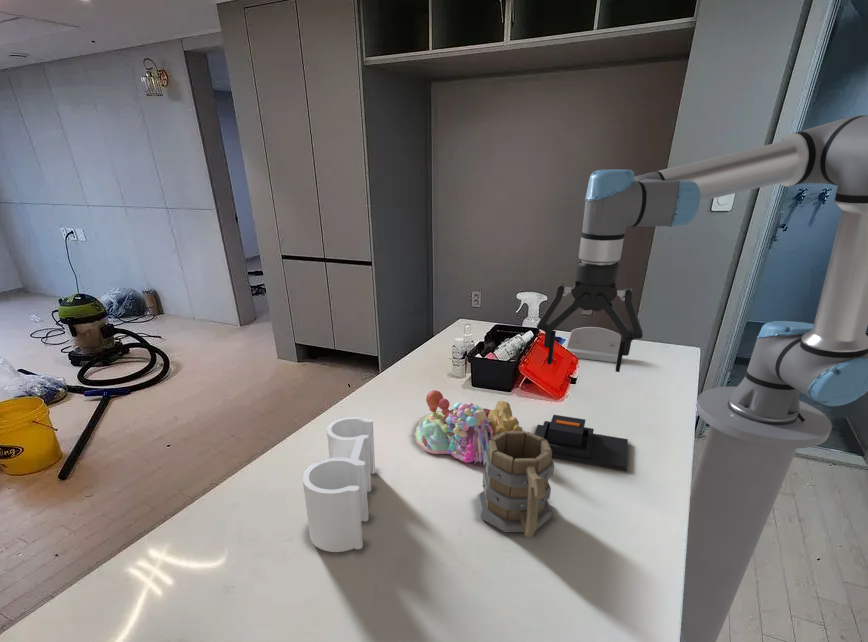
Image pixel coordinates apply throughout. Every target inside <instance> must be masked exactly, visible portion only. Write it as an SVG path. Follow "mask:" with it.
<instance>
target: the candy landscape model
mask: <svg viewBox="0 0 868 642" xmlns="http://www.w3.org/2000/svg"><path fill="white" fill-rule="evenodd" d="M425 401H426V404H427V406H428V407H429V411H430V412H431V413H429V414H427V415H425V416H424V417H422V419H420V420H419V423H418V425H416V427H415V431H414V437H415V443H416V445H418V446H419V447H420V448H421V449H422V450H423V451H424V452H426V453H429V454H433V455H440V454H441V455H445V454H447V455H450V456H452V457H453V458H454V459H457V460H459V461H461V462H464V463H466V464H467V463H472V462H474V464H476V463H478V462H479V464H481V463H483V464H482V465H483V466H485V465H484V455H485V451H486V450H488V448H489V441H490V439H492V438H493V437H495V436H497V435H498V434H500V433H502V432H505V431H523V427H521V426H519V425H520V422H519V420H518V419H517V417H515V416H514V415H513V412H512V408H511V405H510V403H509V402H508V401H505V400H498V401H497V403H496V405H495V408H493V409H488V408H482V407H481V406H479V405H478V404H474V403H472V402H469V403H462V402H456V403H455V404H454V405H453V406H452V409H449V408H450V401H449V400H448V399H447V398H444V395H443V393H442V392H440V391H439V390H435V389H433V390H430V391H429V392H428V393H427V394H426V397H425ZM438 408H439V409H440V410H441V411H440V410H439V411H437V410H438Z"/></svg>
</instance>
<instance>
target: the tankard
mask: <svg viewBox="0 0 868 642" xmlns="http://www.w3.org/2000/svg"><path fill="white" fill-rule="evenodd" d="M552 458H553V457H552V450H551V448H550V446H549V443H548V441H547V440H546V439H545V438H542V437H540V436H537V435H535V433H534V432H533V433H532V432H530V431H526V430H522V431H505V432H502V433H500V434H498V435H497V436H495V437H493V438H492V439H490V441H489V448H488V450H486V451H485V455H484V465H483V466H484V468H485V471H486V472H484V473H483V474H482V488H483V491H480V492H479V493H478V494H477V504H478V505H477V506H478V511H479V517H480V519H481V520H483V521H484V522H486V523H488V524H490V525H492V526H493V527H495V528H497V529H499V530H500V531H502V532H504V533H523V535H524V537H526V538H533V537H534V535H535V533H536V531H538V529H540V528H541V527H542V526H543V525H544V524H545V523H546V522H547V521H549V520H550V519H551V518H552V513H553V512H552V509H551V505H550V503H549V501H548V500H550V498H551V490H552V488H551V485H550V482H549V479H551V478H552V477H553V476H554V472H555V464H554V460H553V459H552Z"/></svg>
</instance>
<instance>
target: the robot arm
mask: <svg viewBox="0 0 868 642" xmlns="http://www.w3.org/2000/svg"><path fill="white" fill-rule="evenodd" d="M777 184H779V185H782V186H783V187H792V186H797V185H802V184H824V185H832V186H833V185H834V186H837V188H836V192H835V197H834V199H833V200H834V201H833V202H834V203H835V205H837V206H838V208H840V210H841V213H840V216H839V221H838V224H837V229H836V233H835V237H834V242H833V246H832V249H831V253H830V258H829V261H828V265H827V270H826V275H825V277H824V278H825V279H824V281H823V286H822V289H821V294H820V298H819V302H818V306H817V310H816V314H815V318H814V322H813V323H810V322H803V321H792V320H773V321H769V322H766V323H764V324H763V325H762V326H761V329H760V331H759V333H758V335H757V336H756V341H755V344H754V347H753V350H752V352H751V357H750V359H749V363H748V366H747V369H746V373H745V375H744V377H743V379H742V380H741V381H740V383H739V384H738V385H737V386H736V387H737V388H736V389H735V390H734V392H733V393H732V394H731V396H730V397H729V400H728V404H727V405H728V407H729V409H730V410H731V411H733V412H734V413H736V414H737V415H739V416H741V417H744V418H746V419H749V420H752V421H755V422H759V423H764V424H772V425H786V424H791V423H794V422H795V421H796V420H797V418H799V419H800V420H801V421H802V422H804V421H805V419H804V418H803V417H802V416H801V414H800V413H799V411H800V406H799V400H800V393H802V394H804V395H805V396H807V398H808V399H810V400H811V401H815V402H818V403H819V404H822V405H823V406H827V407H840V406H845V405H848V404H850V403H852V402H854V401H857V400H859V398H861V397H862V396H864V395H865V394H866V393H868V335H867V334H866V333H867V329H868V115H854V116H853V115H852V116H849V117H845V118H841V119H836V120H834V121H831V122H828V123H827V122H826V123H824V124H821V125H817V126H814V127H810V128H807V129H803V130H800V131H796V132H791V133H789V134H786V135H785V136H783V137H782V138H781V139H780V140H779V141H778V142H775V143H770V144H766V145H761V146H757V147H752V148H749V149H744V150H740V151H736V152H731V153H728V154H723V155H719V156H714V157H710V158H707V159H702V160H698V161H694V162H689V163H685V164H680V165H676V166H673V167H672V166H671V167H667V168H664V169H660V170H656V171H653V172H648V173H644V174H643V173H642V174H639V175H635V172H634V171H633V169H619V168H618V169H613V168H612V169H610V168H609V169H608V168H607V169H597V170H595V171H593V172H592V173H591V174H590V176H589V178H588V184H587V189H586V195H585V197H584V201H585V203H584V211H583V220H582V231H581V236H580V242H579V250H578V259H579V261H578V262H577V265H576V271H575V272H576V273H575V281H574V285H566V284H565V283H564V282H561V283H559V285H558V287H557V290H556V295H555V296H554V298H553V300H552V301H551V302H550V304H549V306H548V307H547V309H546V310H545V312H544V314H543V315H542V316H541V318H540V319H539V321H538V323H537V326H536V329H537V330H538V331H542V332H544V339H543V340H544V341H543V346H544V348H546V349H548V354H547V365H552V362H553V359H554V351H555V350H554V349H555V341H556V333H557V330H555V329H557V328H558V326H560V325H561V324H562V323H563V322H564V321H566V320H567V319H568V318H569V317H570V316H571V315H572V314H573V313H574V312H576V311H577V310H578V309H579V308H580V309H581V310H582V311H594V312H600V311H603V310H604V312H605V313H606V314H607V315H608V316H609V318H610V319H611V321H612V322H613V323H614V325H615V326H616V328H617V329H618V331H619V332H620V333H621V334H620V335H621V341H620V347H619V352H618V357H617V362H615V373H620V372H621V365H622V361H623V356H624V357H625V356H626V357H628V356H629V354H630V350H631V346H632V343H633V341H634V340H641V339H642V338H643V336H644V335H643V334H644V333H643V329H642V326H641V323H640V320H639V318H638V314H637V312H636V307H635V305H634V302H633V298H632V297H633V289H632V288H631V287H626V288H623V289H621V288H619V289H617V281H618V275H619V270H620V264H619V261H620V260H621V257H622V251H623V245H624V240H625V236H626V235H625V233H626V229H627V228H634V227H669V228H672V227H676V226H684V225H688V224H690V223H691V222H692V220H694V218H695V217H696V215H697V213H698V210H699V207H700V203H701V202H704V201H707V200H712V199H717V198H721V197H724V196H729V195H734V194H738V193H742V192H746V191H751V190H756V189H760V188H764V187H769V186H772V185H777ZM568 294H571V295H572V297H573V299H574V300H573V301H572V302H570V304H569V305H568V306H567V307H566V308H564V310H563V311H562V312H561V313H559V314H558V315H557V316H556V317H555V318H554V319H553V320H552V321H551V322H550V323H549V324H548V323H547V322H548V321H549V319H550V318H551V316H552V314H553V313H554V312H555V310H556V308H557V307H558V306H559V304H560V302H561V301H562V299H563V298H565V297H567V296H568ZM617 297H619V298H620V301H622V302H624V306H625V309H626V312H627V315H628V318H629V321H630V323H631V326H632V329H633V331H631V329H630V328H629V327H628V325H627V324H626V322H625V321H624V320H623V318H622V316H621V315H620V313H619V312H618V311H617V309H616V308H615V306H614V304H613V303H612V302H613V301H614V300H615V299H616V298H617Z"/></svg>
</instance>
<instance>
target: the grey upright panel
mask: <svg viewBox="0 0 868 642" xmlns="http://www.w3.org/2000/svg"><path fill="white" fill-rule="evenodd" d="M621 337H622V334H620V333H618V332H617V331H613V330H611V329H609V328H603V327H597V326H585V327H578V328H574V329H572V330H571V331H570V334H569V337H568V341H567V344H566V347H565V349H566V348H567V349H568V350H569V351H570V352H572V353H574V354H575V356H576V357H577V358H576V359H584V360H585V359H586V360H593V361H600V362H601V361H602V362H608V363H609V362H610V363H617V357H618V352H619V347H620V341H621Z"/></svg>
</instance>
